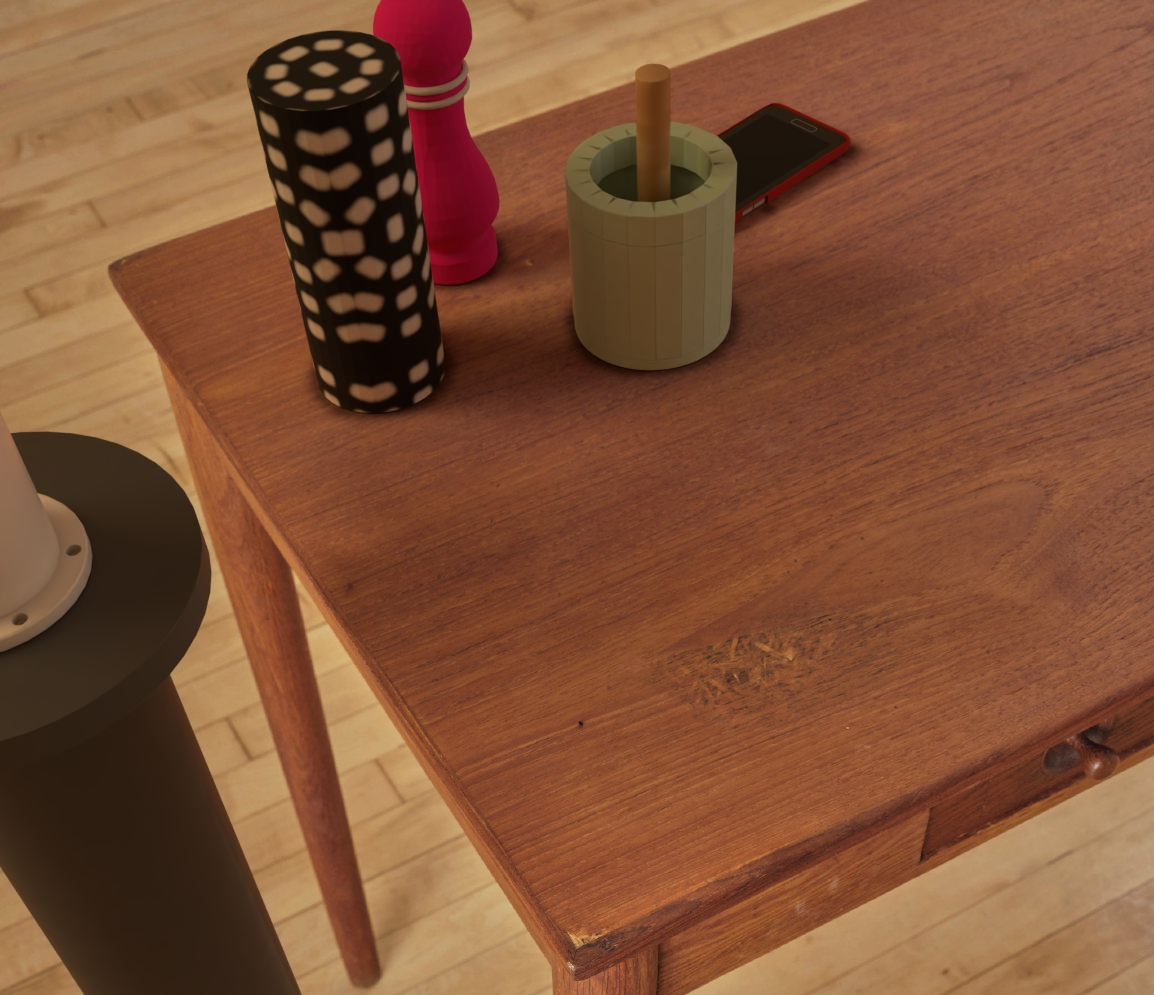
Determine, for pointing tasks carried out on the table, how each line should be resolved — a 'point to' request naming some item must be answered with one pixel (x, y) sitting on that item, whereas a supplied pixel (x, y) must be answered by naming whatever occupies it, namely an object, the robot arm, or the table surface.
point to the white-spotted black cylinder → (351, 215)
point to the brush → (653, 132)
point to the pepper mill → (443, 134)
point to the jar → (651, 249)
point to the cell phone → (778, 153)
